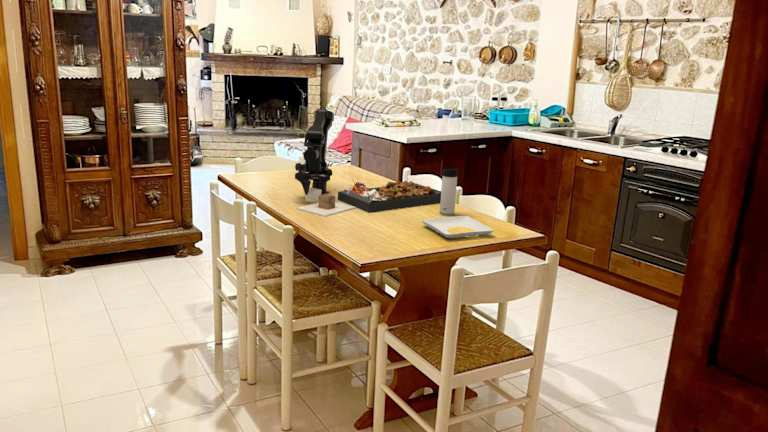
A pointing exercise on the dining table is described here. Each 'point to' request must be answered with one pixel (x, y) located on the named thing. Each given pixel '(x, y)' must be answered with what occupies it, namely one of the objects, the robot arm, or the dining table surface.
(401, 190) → the food platter
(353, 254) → the dining table surface
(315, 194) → the offwhite cube
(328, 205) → the walnut cube
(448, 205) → the travel mug
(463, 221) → the salad plate
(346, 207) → the blueprint board
